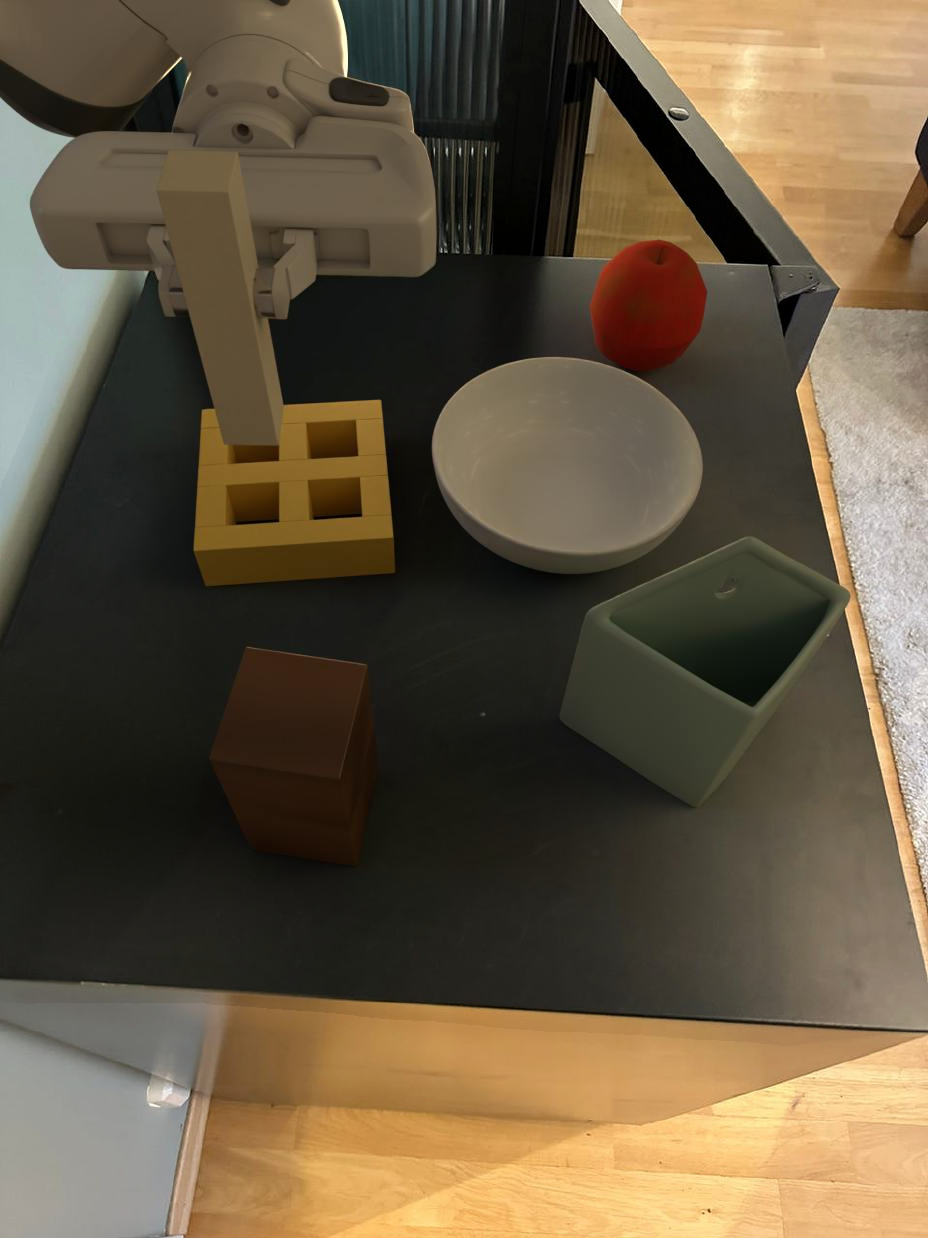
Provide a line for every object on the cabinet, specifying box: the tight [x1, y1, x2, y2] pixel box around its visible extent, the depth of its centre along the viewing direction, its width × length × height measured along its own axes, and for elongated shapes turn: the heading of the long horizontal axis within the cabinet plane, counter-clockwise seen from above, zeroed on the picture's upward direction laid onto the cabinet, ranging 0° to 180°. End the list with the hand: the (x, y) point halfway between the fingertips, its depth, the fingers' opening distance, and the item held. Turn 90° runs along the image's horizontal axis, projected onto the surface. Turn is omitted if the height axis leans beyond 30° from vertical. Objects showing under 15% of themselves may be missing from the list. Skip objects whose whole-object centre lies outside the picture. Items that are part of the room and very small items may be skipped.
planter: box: [559, 536, 851, 808], centre depth 56 cm, size 16×8×20 cm, turn 96°
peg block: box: [193, 399, 396, 587], centre depth 74 cm, size 15×15×4 cm
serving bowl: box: [431, 356, 704, 575], centre depth 74 cm, size 21×21×7 cm
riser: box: [208, 646, 379, 868], centre depth 56 cm, size 7×7×14 cm
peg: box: [156, 150, 285, 446], centre depth 45 cm, size 3×3×15 cm
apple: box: [589, 239, 708, 372], centre depth 83 cm, size 10×10×12 cm
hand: (223, 306), depth 44 cm, fingers closed on peg, 3 cm apart
